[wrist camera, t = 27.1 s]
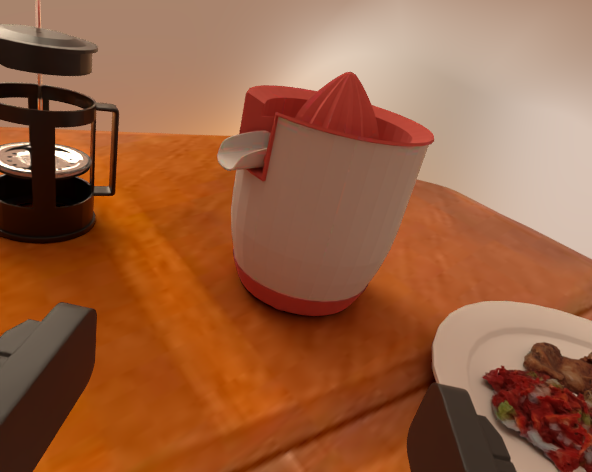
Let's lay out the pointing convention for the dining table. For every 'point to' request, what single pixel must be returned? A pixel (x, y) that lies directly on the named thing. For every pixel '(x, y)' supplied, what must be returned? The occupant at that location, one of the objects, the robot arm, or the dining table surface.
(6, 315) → the dining table surface
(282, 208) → the citrus juicer
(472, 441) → the robot arm
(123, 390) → the dining table surface
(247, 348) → the dining table surface
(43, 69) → the french press
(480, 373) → the plated food
